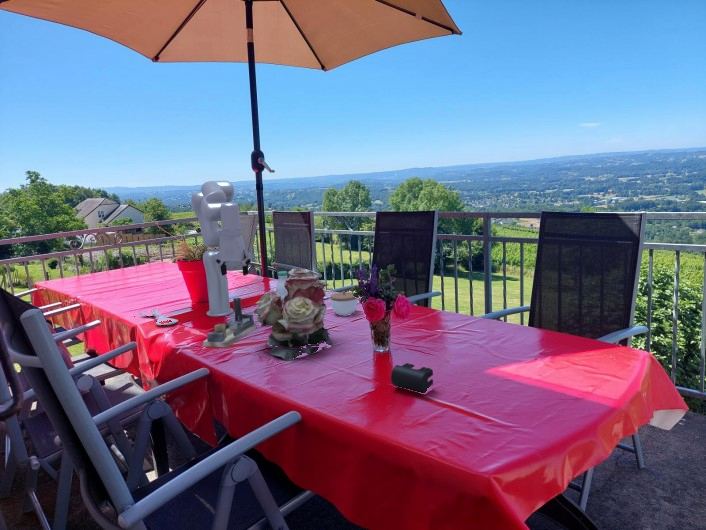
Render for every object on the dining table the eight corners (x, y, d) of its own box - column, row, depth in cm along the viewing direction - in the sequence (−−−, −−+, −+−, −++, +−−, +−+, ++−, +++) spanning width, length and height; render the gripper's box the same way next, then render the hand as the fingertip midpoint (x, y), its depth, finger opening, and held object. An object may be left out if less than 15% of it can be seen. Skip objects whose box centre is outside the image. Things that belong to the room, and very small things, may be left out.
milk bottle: (290, 314, 214) (287, 273, 211) (274, 314, 216) (271, 273, 213) (295, 310, 222) (292, 270, 219) (280, 310, 223) (277, 270, 220)
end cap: (390, 391, 129) (390, 368, 127) (404, 382, 134) (403, 360, 133) (421, 399, 122) (421, 375, 121) (434, 390, 128) (434, 367, 127)
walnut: (214, 339, 175) (213, 327, 175) (217, 336, 179) (216, 324, 178) (224, 339, 175) (223, 326, 174) (227, 335, 179) (226, 323, 178)
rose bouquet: (252, 344, 174) (246, 267, 169) (324, 332, 185) (320, 259, 180) (268, 367, 150) (261, 278, 146) (349, 351, 162) (345, 268, 157)
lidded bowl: (347, 319, 203) (346, 295, 201) (325, 315, 210) (324, 292, 208) (363, 312, 212) (363, 289, 211) (342, 309, 220) (341, 287, 218)
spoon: (157, 313, 229) (156, 306, 229) (181, 325, 206) (181, 317, 205) (138, 317, 223) (137, 310, 223) (161, 330, 200) (160, 322, 199)
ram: (225, 329, 187) (223, 301, 185) (235, 323, 195) (232, 296, 193) (241, 329, 186) (238, 301, 184) (250, 324, 193) (247, 297, 191)
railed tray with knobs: (203, 346, 174) (201, 331, 173) (235, 327, 198) (234, 313, 197) (226, 347, 172) (225, 332, 171) (256, 327, 195) (255, 314, 195)
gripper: (207, 235, 184) (211, 276, 186) (246, 234, 179) (250, 276, 182) (217, 233, 191) (220, 273, 194) (255, 232, 187) (258, 273, 189)
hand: (235, 274), depth 188 cm, fingers open, 9 cm apart
